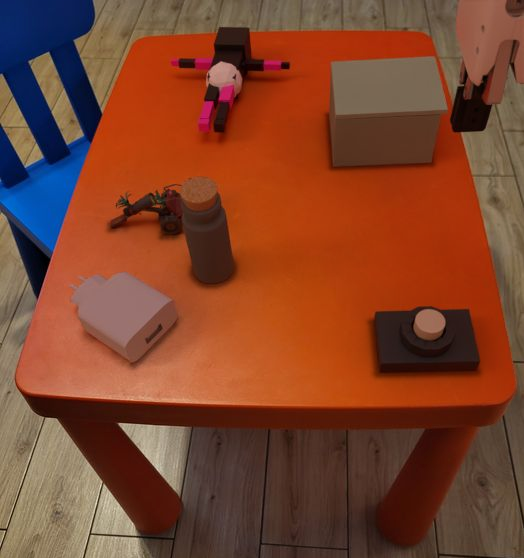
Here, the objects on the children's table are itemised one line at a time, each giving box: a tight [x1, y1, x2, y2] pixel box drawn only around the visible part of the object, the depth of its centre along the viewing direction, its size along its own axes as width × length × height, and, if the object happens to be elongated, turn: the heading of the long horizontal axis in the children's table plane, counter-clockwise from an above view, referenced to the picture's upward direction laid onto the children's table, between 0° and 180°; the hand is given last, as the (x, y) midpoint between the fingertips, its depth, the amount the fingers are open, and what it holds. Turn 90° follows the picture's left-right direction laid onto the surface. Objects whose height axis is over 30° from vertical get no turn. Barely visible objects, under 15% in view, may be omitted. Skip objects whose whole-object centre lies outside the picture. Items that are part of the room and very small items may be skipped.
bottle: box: [179, 176, 235, 285], centre depth 81 cm, size 6×6×15 cm
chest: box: [328, 72, 442, 168], centre depth 98 cm, size 16×14×9 cm
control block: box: [373, 305, 481, 373], centre depth 77 cm, size 12×8×4 cm, turn 89°
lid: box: [330, 55, 449, 119], centre depth 93 cm, size 16×14×1 cm
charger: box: [68, 271, 179, 363], centre depth 82 cm, size 5×9×15 cm
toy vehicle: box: [109, 177, 192, 236], centre depth 91 cm, size 7×15×8 cm, turn 94°
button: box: [413, 309, 445, 341], centre depth 75 cm, size 4×4×2 cm
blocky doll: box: [170, 26, 291, 134], centre depth 107 cm, size 22×25×6 cm
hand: (466, 126), depth 60 cm, fingers closed
